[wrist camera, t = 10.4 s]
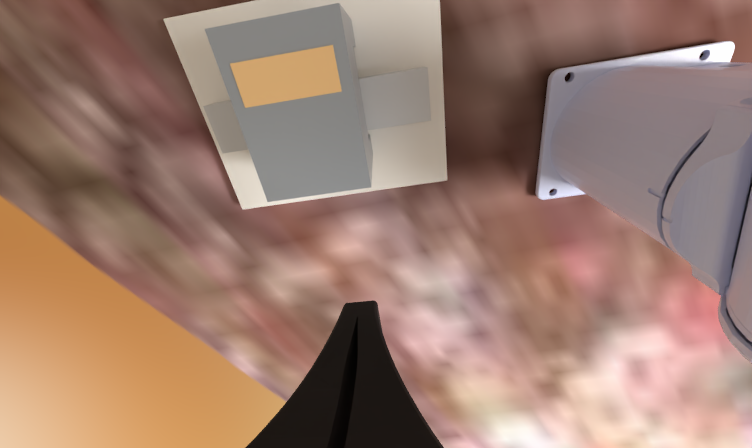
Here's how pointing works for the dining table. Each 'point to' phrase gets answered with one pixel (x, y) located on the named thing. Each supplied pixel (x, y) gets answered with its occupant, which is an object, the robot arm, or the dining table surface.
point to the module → (297, 100)
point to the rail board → (377, 83)
